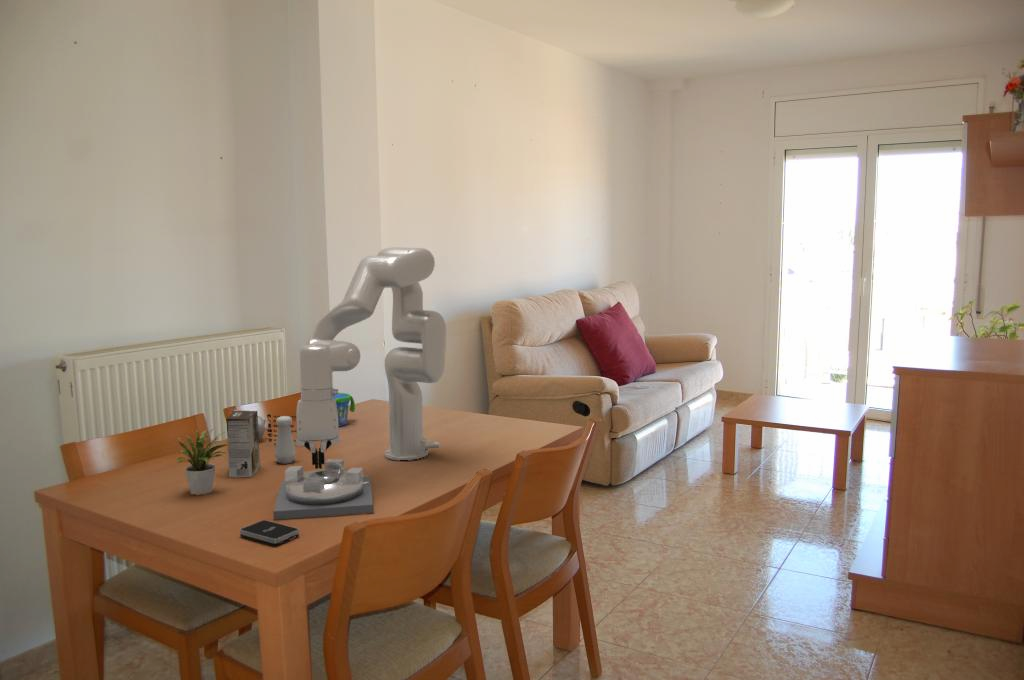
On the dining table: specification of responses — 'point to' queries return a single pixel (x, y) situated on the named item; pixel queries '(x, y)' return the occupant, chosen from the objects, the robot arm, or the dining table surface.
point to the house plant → (200, 463)
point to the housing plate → (323, 505)
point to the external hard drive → (269, 533)
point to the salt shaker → (284, 441)
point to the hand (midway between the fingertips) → (318, 467)
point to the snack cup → (343, 407)
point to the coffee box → (243, 443)
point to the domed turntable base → (324, 483)
